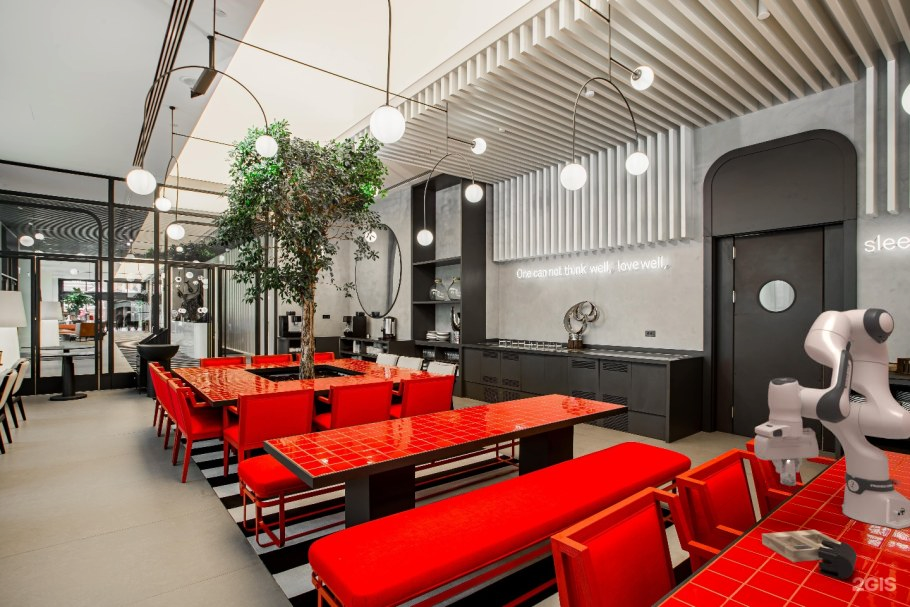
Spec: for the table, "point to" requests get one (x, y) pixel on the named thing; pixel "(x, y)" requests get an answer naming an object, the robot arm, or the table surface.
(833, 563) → the end cap
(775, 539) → the beige rectangular frame
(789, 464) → the metal pin
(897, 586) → the table surface
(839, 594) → the table surface
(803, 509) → the table surface
